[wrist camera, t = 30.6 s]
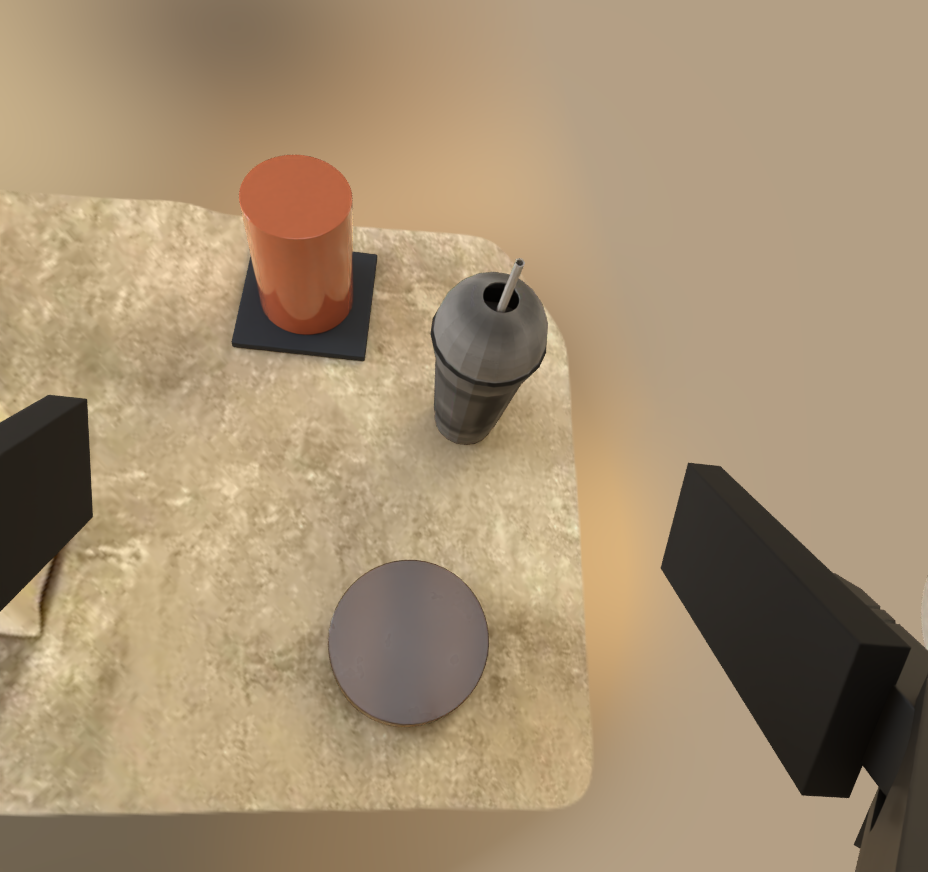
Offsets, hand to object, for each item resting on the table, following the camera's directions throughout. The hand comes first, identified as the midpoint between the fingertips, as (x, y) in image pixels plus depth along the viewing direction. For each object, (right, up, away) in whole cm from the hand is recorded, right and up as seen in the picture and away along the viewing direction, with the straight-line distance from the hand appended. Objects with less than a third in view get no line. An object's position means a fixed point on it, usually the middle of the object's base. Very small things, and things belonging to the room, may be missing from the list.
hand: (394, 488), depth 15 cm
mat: (-11, +12, +40) cm, 44 cm away
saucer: (-2, -13, +30) cm, 33 cm away
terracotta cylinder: (-11, +12, +40) cm, 43 cm away
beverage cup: (+1, +2, +38) cm, 38 cm away
